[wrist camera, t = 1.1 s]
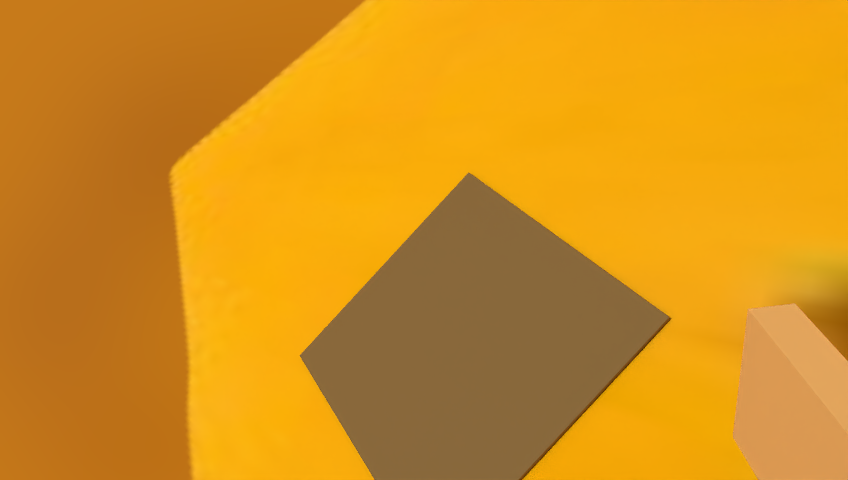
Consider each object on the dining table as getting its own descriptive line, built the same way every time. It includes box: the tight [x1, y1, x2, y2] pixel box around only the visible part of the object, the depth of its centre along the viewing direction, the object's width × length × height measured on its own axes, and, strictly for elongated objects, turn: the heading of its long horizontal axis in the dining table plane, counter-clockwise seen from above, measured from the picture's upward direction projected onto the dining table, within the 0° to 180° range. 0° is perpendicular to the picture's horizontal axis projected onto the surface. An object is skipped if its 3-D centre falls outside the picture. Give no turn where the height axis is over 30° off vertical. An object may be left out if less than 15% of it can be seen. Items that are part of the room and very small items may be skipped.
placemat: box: [300, 173, 670, 480], centre depth 46 cm, size 18×20×1 cm
